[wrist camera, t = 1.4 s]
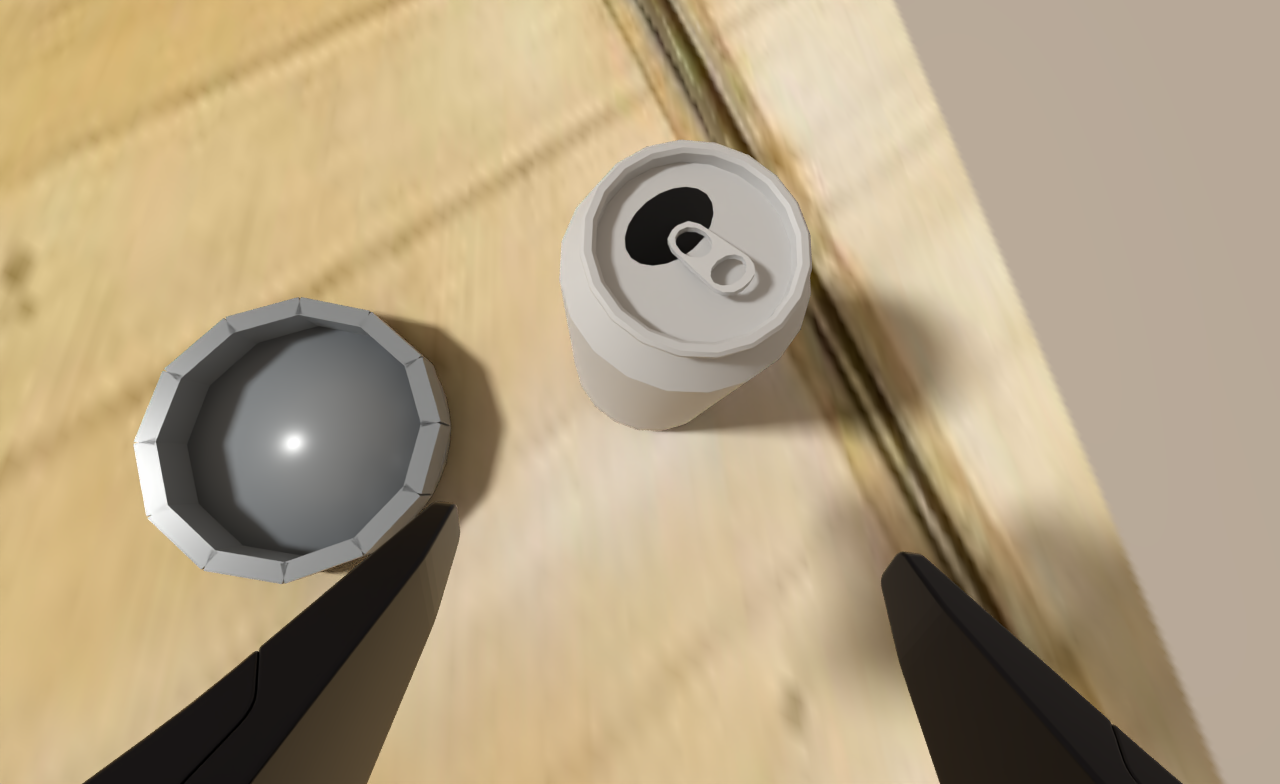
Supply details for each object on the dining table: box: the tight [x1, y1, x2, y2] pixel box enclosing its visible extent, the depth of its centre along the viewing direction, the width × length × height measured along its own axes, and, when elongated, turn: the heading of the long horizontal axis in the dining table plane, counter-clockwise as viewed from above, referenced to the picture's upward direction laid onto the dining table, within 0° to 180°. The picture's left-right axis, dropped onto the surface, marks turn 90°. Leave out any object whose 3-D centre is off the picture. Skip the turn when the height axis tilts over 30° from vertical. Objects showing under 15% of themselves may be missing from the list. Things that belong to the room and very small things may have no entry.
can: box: [560, 140, 812, 431], centre depth 18 cm, size 8×8×12 cm
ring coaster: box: [134, 297, 451, 584], centre depth 21 cm, size 12×12×2 cm
